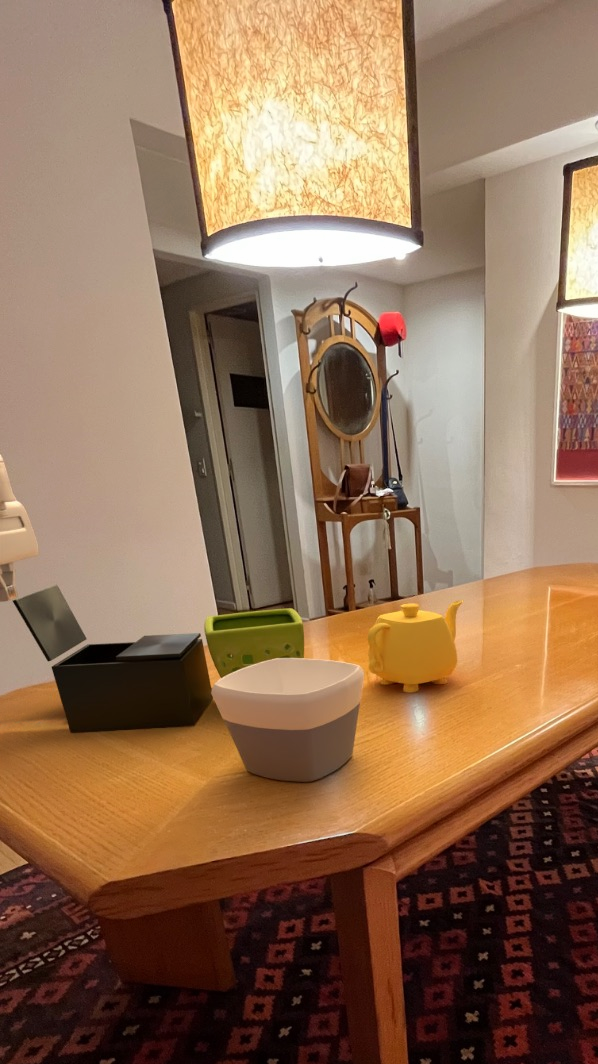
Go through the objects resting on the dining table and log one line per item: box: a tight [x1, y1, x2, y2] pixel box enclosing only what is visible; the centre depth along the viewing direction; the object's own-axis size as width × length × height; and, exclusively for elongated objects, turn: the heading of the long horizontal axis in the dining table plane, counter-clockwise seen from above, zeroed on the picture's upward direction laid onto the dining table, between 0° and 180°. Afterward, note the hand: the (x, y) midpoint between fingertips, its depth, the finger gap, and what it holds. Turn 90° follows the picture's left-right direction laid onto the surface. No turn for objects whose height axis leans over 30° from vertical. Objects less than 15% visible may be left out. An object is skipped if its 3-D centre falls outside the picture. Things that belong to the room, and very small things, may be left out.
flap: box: [12, 584, 88, 663], centre depth 94 cm, size 8×13×1 cm
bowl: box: [211, 657, 365, 783], centre depth 80 cm, size 15×15×11 cm
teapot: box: [367, 599, 464, 693], centre depth 111 cm, size 14×20×13 cm
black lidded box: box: [51, 632, 214, 734], centre depth 99 cm, size 17×13×10 cm
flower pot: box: [203, 607, 305, 679], centre depth 103 cm, size 14×14×13 cm
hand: (7, 599), depth 92 cm, fingers closed
